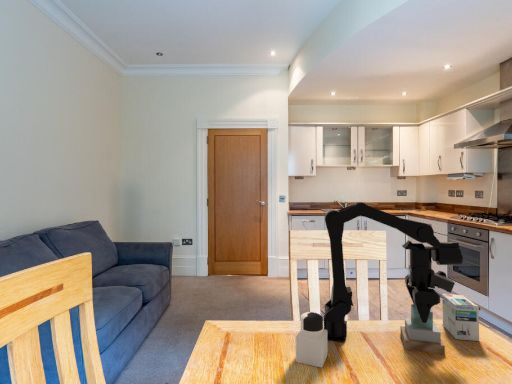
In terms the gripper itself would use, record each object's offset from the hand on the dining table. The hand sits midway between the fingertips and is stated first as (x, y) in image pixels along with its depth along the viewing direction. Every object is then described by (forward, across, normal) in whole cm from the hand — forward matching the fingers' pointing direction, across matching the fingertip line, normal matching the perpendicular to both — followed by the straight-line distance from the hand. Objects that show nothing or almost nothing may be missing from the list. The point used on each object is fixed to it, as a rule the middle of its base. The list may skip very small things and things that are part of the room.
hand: (420, 316), depth 92 cm
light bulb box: (+8, +11, -13) cm, 19 cm away
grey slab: (+6, 0, 0) cm, 6 cm away
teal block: (+3, 0, 0) cm, 3 cm away
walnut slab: (+9, 0, 0) cm, 9 cm away
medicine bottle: (+8, -18, +30) cm, 36 cm away
